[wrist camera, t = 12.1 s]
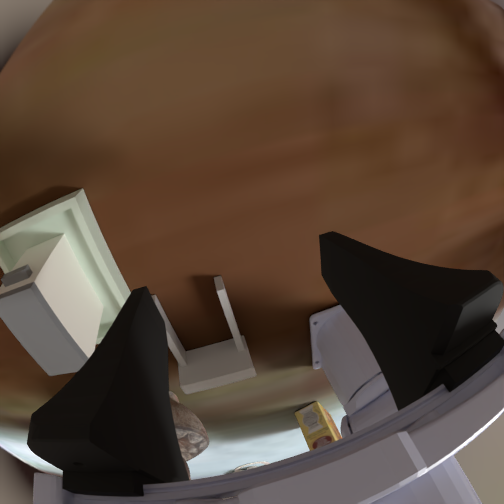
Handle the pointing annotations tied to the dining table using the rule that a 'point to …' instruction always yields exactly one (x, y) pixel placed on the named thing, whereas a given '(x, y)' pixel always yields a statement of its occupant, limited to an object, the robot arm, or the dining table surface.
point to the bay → (211, 354)
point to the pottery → (188, 431)
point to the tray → (81, 241)
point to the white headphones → (249, 467)
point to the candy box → (317, 426)
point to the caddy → (51, 307)
